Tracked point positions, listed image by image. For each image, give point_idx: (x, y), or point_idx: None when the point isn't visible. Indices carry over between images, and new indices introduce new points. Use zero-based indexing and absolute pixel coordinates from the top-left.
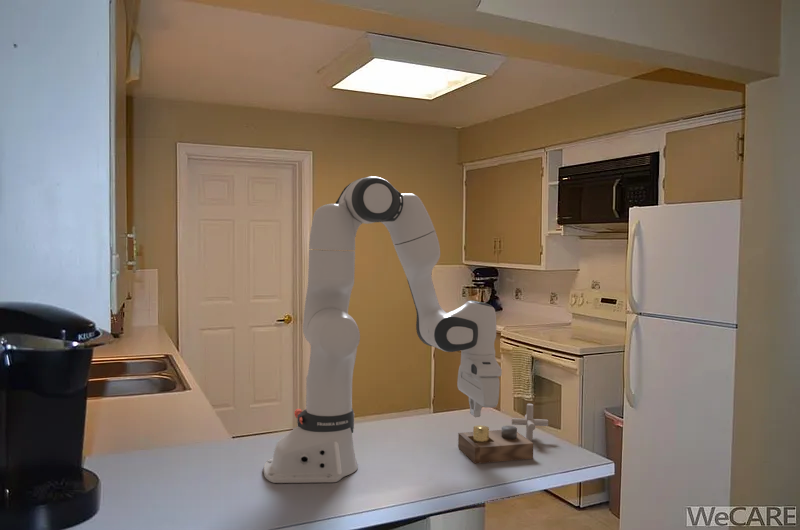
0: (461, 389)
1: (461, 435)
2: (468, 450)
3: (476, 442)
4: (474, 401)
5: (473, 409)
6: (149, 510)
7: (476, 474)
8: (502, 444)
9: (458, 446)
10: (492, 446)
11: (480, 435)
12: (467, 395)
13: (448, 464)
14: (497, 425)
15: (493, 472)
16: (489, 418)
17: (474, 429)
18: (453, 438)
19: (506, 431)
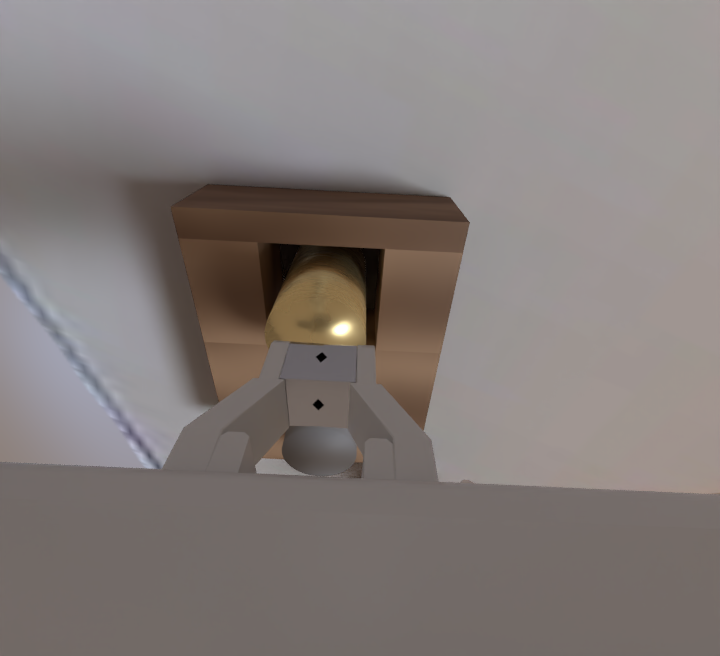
0: (697, 531)
1: (414, 220)
2: (291, 198)
3: (300, 263)
4: (214, 462)
5: (279, 382)
6: None
7: (52, 125)
8: (223, 359)
9: (447, 199)
10: (195, 307)
11: (276, 299)
12: (398, 487)
13: (199, 6)
14: (607, 448)
15: (95, 223)
16: (694, 456)
17: (306, 291)
18: (588, 231)
19: (293, 428)
